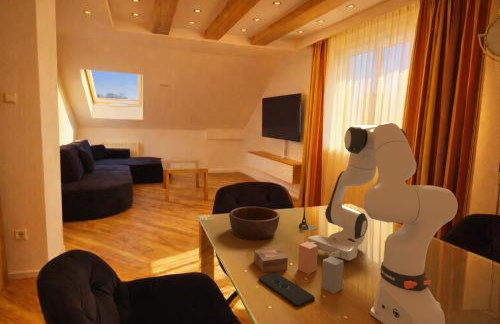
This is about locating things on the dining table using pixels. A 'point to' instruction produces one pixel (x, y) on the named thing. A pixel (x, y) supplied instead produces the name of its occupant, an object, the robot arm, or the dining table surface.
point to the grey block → (332, 274)
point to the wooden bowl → (254, 222)
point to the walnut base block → (270, 260)
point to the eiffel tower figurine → (306, 224)
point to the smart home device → (287, 289)
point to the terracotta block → (307, 257)
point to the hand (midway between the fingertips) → (319, 251)
